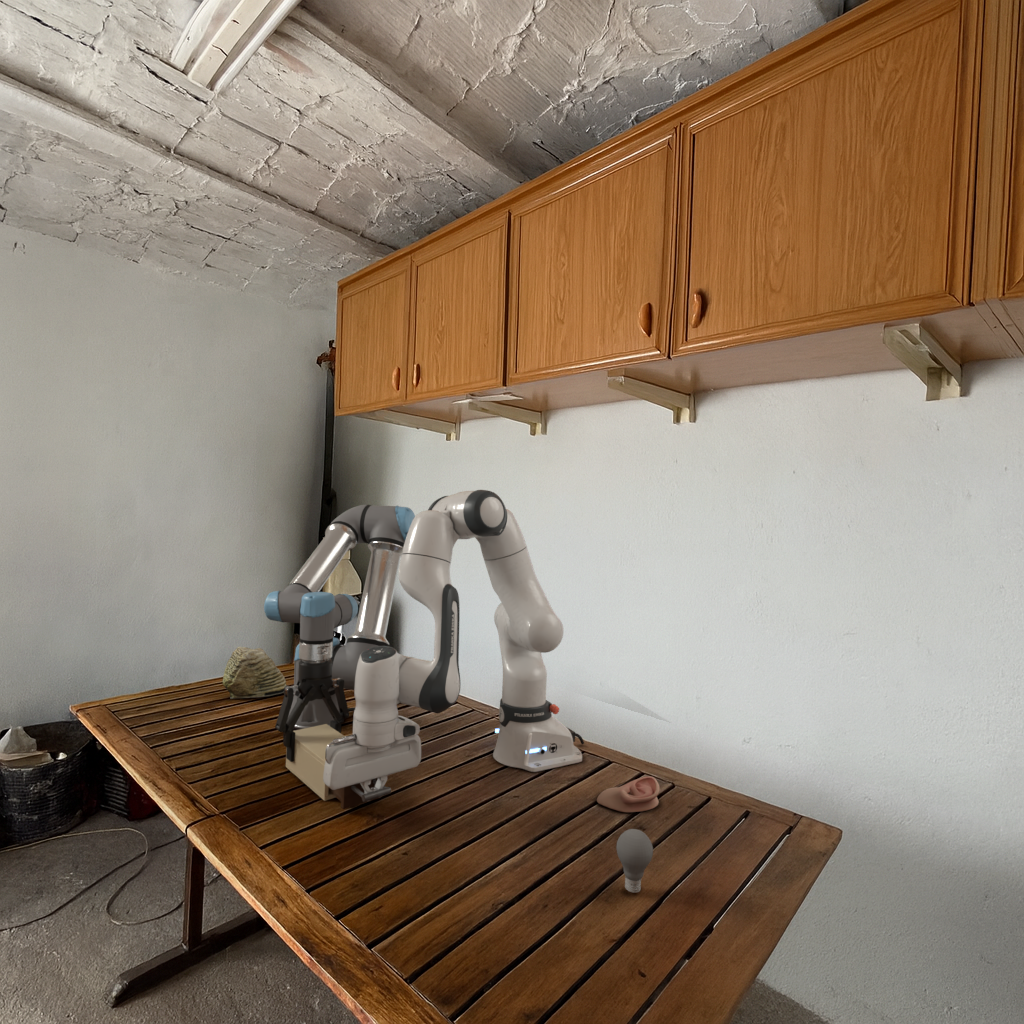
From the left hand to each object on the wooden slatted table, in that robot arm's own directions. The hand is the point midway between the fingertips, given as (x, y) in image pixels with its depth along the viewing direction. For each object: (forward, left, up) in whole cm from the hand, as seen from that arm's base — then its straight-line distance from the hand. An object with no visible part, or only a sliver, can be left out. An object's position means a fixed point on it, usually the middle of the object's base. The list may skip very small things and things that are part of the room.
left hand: (312, 754), depth 148 cm
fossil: (-18, -58, -3) cm, 60 cm away
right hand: (+5, +28, +1) cm, 28 cm away
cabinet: (+1, +7, -3) cm, 8 cm away
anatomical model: (-37, +63, -3) cm, 73 cm away
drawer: (+3, +18, -2) cm, 18 cm away
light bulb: (-9, +79, -3) cm, 79 cm away
